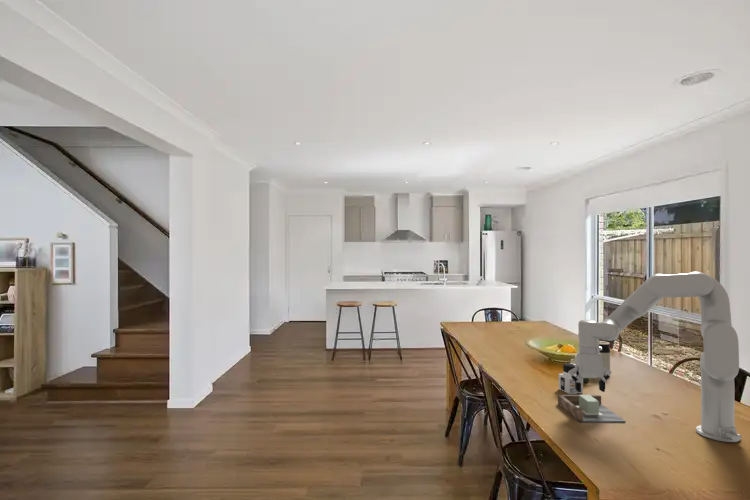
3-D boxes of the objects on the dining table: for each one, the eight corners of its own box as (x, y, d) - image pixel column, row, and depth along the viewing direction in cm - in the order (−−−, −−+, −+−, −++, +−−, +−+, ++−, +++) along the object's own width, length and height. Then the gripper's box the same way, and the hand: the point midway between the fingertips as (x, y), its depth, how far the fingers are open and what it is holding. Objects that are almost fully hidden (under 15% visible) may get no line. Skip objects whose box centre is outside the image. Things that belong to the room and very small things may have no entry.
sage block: (589, 406, 182) (589, 394, 182) (599, 413, 174) (599, 401, 174) (579, 406, 182) (579, 394, 182) (587, 413, 174) (587, 401, 174)
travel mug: (613, 377, 225) (613, 343, 225) (597, 377, 226) (597, 343, 226) (605, 373, 233) (605, 340, 233) (590, 373, 234) (590, 340, 234)
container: (569, 394, 199) (569, 366, 199) (558, 389, 207) (558, 362, 207) (583, 393, 201) (583, 365, 201) (571, 388, 209) (571, 361, 209)
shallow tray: (625, 422, 167) (625, 412, 167) (579, 422, 167) (579, 412, 167) (599, 404, 187) (599, 395, 187) (558, 403, 187) (558, 394, 187)
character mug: (592, 380, 222) (592, 355, 222) (595, 384, 215) (595, 358, 215) (569, 378, 225) (569, 353, 225) (571, 382, 218) (571, 356, 218)
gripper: (605, 347, 182) (606, 388, 181) (564, 348, 182) (565, 388, 182) (614, 351, 174) (616, 393, 174) (572, 352, 174) (573, 394, 174)
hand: (590, 391), depth 178 cm, fingers open, 9 cm apart
